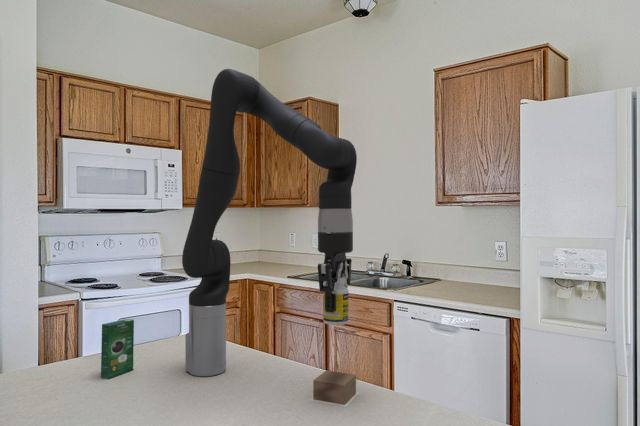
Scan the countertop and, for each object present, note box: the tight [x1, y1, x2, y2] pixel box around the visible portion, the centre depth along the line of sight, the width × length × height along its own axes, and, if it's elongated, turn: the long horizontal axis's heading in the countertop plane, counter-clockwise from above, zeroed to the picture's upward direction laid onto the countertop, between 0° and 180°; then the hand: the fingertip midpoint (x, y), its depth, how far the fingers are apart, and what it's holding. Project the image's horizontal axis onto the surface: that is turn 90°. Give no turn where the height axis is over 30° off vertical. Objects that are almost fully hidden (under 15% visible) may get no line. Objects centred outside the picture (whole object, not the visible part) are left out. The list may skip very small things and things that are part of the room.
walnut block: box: [312, 369, 357, 405], centre depth 105 cm, size 7×7×4 cm
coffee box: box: [100, 318, 135, 380], centre depth 122 cm, size 8×3×13 cm, turn 153°
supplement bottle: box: [322, 277, 350, 326], centre depth 105 cm, size 5×5×10 cm
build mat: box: [308, 391, 361, 408], centre depth 108 cm, size 12×12×1 cm
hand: (335, 308), depth 105 cm, fingers closed on supplement bottle, 5 cm apart
